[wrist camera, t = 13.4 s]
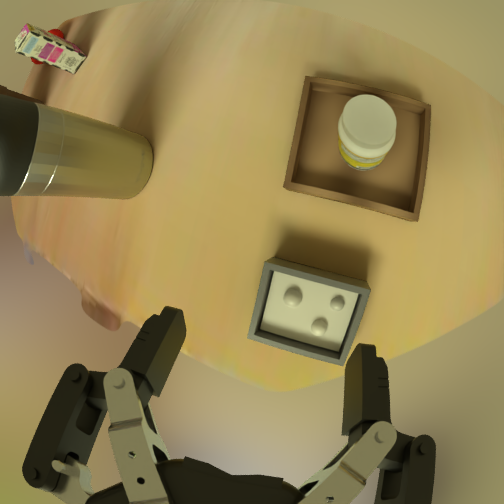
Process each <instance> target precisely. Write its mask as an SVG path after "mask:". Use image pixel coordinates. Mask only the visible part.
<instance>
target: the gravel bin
mask: <svg viewBox="0 0 504 504" xmlns="http://www.w3.org/2000/svg"><path fill="white" fill-rule="evenodd" d="M370 291H371V289H370V287H369V285H368V283H367V282H366V281H362V280H359V279H355V278H351V277H347V276H344V275H340V274H336V273H332V272H329V271H325V270H321V269H317V268H313V267H310V266H306V265H302V264H298V263H295V262H291V261H287V260H283V259H279V258H276V257H272V258H271V259H269V260H267V261H265V263H264V267H263V271H262V276H261V280H260V285H259V289H258V293H257V298H256V302H255V307H254V311H253V315H252V320H251V324H250V328H249V332H248V337H247V338H248V339H251V340H254V341H257V342H260V343H263V344H266V345H270V346H273V347H276V348H279V349H282V350H286V351H289V352H292V353H296V354H299V355H303V356H306V357H310V358H313V359H317V360H321V361H325V362H328V363H332V364H336V365H340V366H343V365H344V363H345V361H346V358H347V356H348V353H349V351H350V348H351V346H352V343H353V340H354V338H355V335H356V332H357V330H358V327H359V324H360V321H361V319H362V316H363V313H364V310H365V307H366V304H367V301H368V298H369V294H370Z"/></svg>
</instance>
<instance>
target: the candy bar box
mask: <svg viewBox="0 0 504 504" xmlns="http://www.w3.org/2000/svg"><path fill="white" fill-rule="evenodd" d="M15 51H16V53H19V54H22V55H25V56H28V57H31V58H33V59H36V60H39V61H42V62H45V63H47V64H50V65H52V66H55V67H58V68H60V69H62V70H65V71H68V72H70V73H72V74H74V73H75V72H76V71H77V69H78V68H79V67H80V65H81V64H82V63H83V61H84V60H85V58H86V57H87V56H86V55H85V54H84V53H83V52H82V51H81V50H80V49H79V48H78V47H77V46H76V45H75V44H73V43H71V42H69V41H67V40H65V39H62V38H60V37H58V36H56V35H54V34H51V33H49V32H47V31H45V30H42V29H40V28H38V27H35V26H32V25H30V24H28V23H27V24H26V25H25V26H24V28H23V29H22V31H21V32H20V34H19V35H18V37H17V38H16V40H15Z"/></svg>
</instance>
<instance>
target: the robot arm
mask: <svg viewBox="0 0 504 504" xmlns="http://www.w3.org/2000/svg"><path fill="white" fill-rule="evenodd" d="M152 164H153V153H152V149H151V146H150V144H149V142H148V141H147V139H146V138H145V137H143V136H142V135H139V134H136V133H134V132H131V131H128V130H125V129H122V128H120V127H117V126H114V125H111V124H108V123H105V122H102V121H99V120H95V119H92V118H89V117H86V116H82V115H79V114H76V113H72V112H69V111H65V110H62V109H58V108H54V107H50V106H47V105H43V104H39V103H35V102H31V101H26V100H22V99H18V98H15V97H11V96H7V95H3V94H0V196H67V197H91V198H108V199H129V198H132V197H134V196H135V195H137V194H138V193H139V192H140V191H141V190H142V189H143V187H144V186H145V184H146V183H147V181H148V179H149V176H150V173H151V170H152ZM185 337H186V325H185V320H184V315H183V311H182V310H181V309H177V308H173V307H170V306H165V307H164V309H163V310H162V312H161V314H160V316H159V315H156V314H154V315H152V316H151V317H150V318H149V319H147V320H146V321H145V323H144V324H143V326H142V328H141V329H140V332H139V333H138V335H137V336H136V339H135V340H134V341H133V343H132V345H131V347H130V348H129V350H128V352H127V354H126V356H125V357H124V359H123V361H122V363H121V364H120V365H119V367H117V368H115V369H113V370H110V371H109V372H97V371H88V370H87V369H86V367H85V366H83V365H82V364H72V365H70V366H69V367H68V368H67V369H66V370H65V372H64V374H63V376H62V378H61V379H60V381H59V383H58V385H57V387H56V389H55V391H54V393H53V395H52V397H51V399H50V401H49V403H48V405H47V408H46V410H45V412H44V414H43V416H42V419H41V421H40V423H39V425H38V428H37V430H36V432H35V435H34V437H33V440H32V442H31V444H30V447H29V450H28V453H27V455H26V458H25V460H24V463H23V467H22V472H23V476H24V478H25V480H26V481H27V482H28V484H29V485H31V486H32V487H35V488H38V489H41V490H44V491H46V492H50V493H52V494H53V495H55V496H56V497H58V498H59V499H61V500H62V501H64V502H65V503H67V504H349V503H350V502H351V501H352V500H353V499H354V498H355V497H356V496H357V495H358V494H359V493H360V492H361V490H362V489H363V488H364V487H365V485H366V480H367V478H368V477H369V476H370V475H371V473H372V472H373V471H374V470H375V469H376V467H377V468H380V473H379V480H378V487H377V492H376V497H375V503H374V504H431V501H432V493H433V484H434V474H435V455H436V445H435V442H434V440H433V439H432V438H431V437H430V436H428V435H420V436H418V437H416V438H415V437H412V436H409V435H405V434H402V433H400V432H398V431H397V430H396V429H395V428H394V426H393V425H392V423H391V419H390V395H389V380H388V368H387V365H386V363H385V361H384V359H383V358H381V357H377V356H376V347H375V345H370V344H361V343H359V344H358V345H357V346H356V348H355V349H354V351H353V353H352V354H351V356H350V358H349V359H348V361H347V364H346V368H345V387H344V389H345V390H344V408H343V423H342V435H346V436H349V439H348V443H346V445H345V446H344V447H343V448H342V449H341V450H340V451H339V452H338V453H337V454H336V455H335V456H334V457H333V458H332V459H331V460H330V461H329V462H328V463H327V464H326V465H325V466H324V467H323V468H322V469H321V470H319V471H318V472H317V473H315V474H314V475H313V476H312V477H311V478H309V479H308V480H307V481H306V482H305V483H303V484H302V485H301V486H300V487H299V488H298V489H297V488H296V487H294V486H293V485H291V484H289V483H287V482H285V481H283V478H279V477H271V476H264V475H230V474H228V473H226V472H224V471H222V470H220V469H218V468H216V467H214V466H212V465H211V464H209V463H205V462H202V461H198V460H195V459H192V458H189V457H186V456H185V458H184V459H170V457H169V454H168V452H167V449H166V447H165V445H164V442H163V440H162V439H161V437H160V434H159V432H158V429H157V426H156V423H155V420H154V416H153V413H152V410H151V406H150V403H149V400H150V398H151V396H152V395H154V396H157V397H159V396H160V394H161V391H162V389H163V387H164V385H165V382H166V380H167V378H168V376H169V373H170V371H171V369H172V367H173V364H174V362H175V360H176V358H177V356H178V354H179V351H180V349H181V347H182V345H183V343H184V340H185ZM107 411H108V412H109V417H110V421H111V426H110V427H109V429H108V433H109V438H110V441H111V445H112V449H113V453H114V456H115V460H116V463H117V467H118V470H119V473H120V476H121V479H122V482H120V483H118V484H115V485H113V486H111V487H109V488H107V489H104V490H102V491H99V492H97V493H94V491H93V490H92V487H91V472H90V470H89V468H88V466H86V464H87V462H88V459H89V456H90V453H91V451H92V448H93V445H94V442H95V440H96V437H97V435H98V432H99V430H100V427H101V425H102V422H103V420H104V418H105V415H106V413H107ZM134 457H135V458H134ZM327 501H328V502H327Z"/></svg>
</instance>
